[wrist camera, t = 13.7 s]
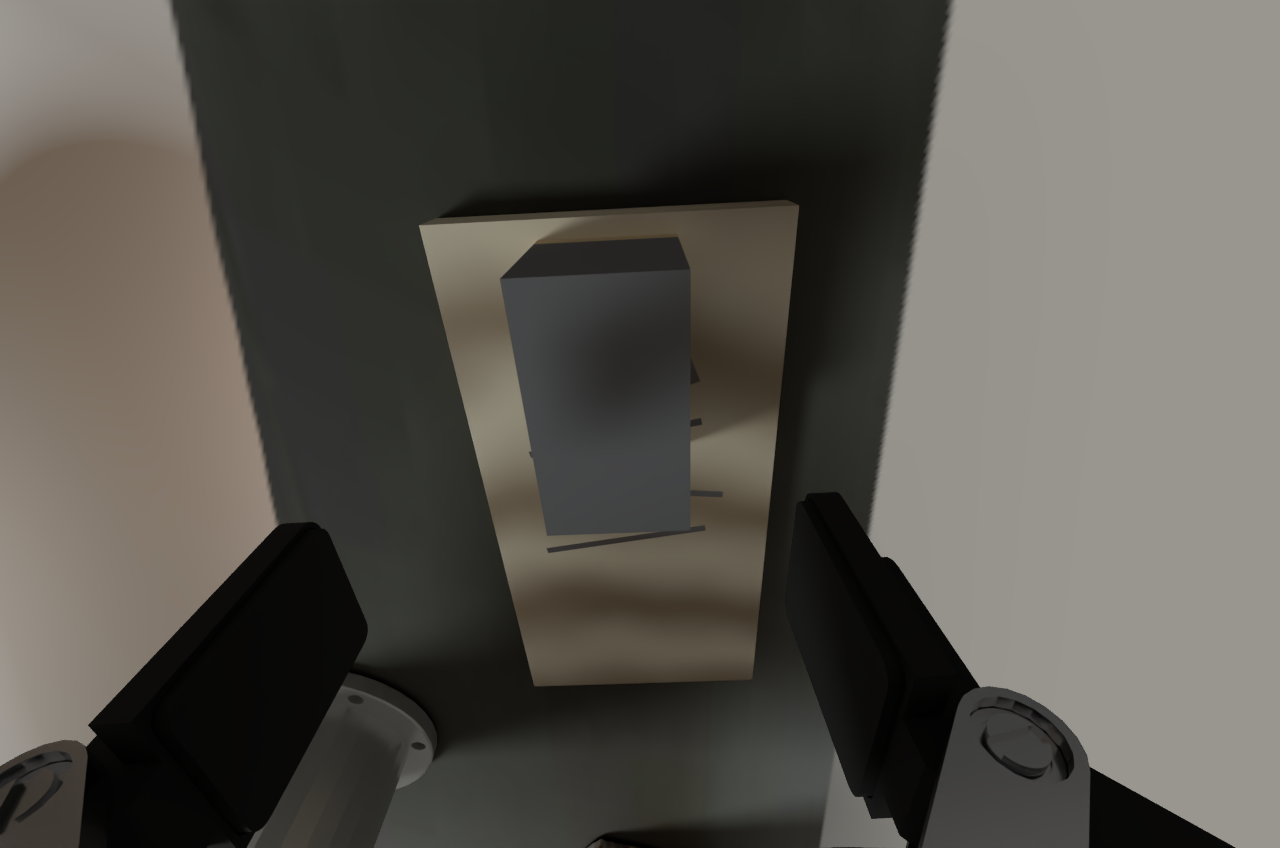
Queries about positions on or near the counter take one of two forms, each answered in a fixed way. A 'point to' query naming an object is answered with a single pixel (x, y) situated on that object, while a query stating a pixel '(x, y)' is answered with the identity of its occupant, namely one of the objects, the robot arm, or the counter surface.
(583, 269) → the sanding sponge
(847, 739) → the robot arm
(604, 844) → the stone block
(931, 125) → the counter surface
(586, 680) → the birch board
